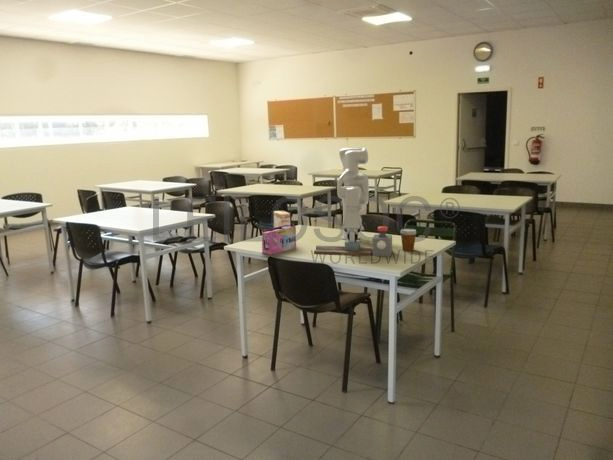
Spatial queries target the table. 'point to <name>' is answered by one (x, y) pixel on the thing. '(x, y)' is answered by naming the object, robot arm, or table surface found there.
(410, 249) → the disposable coffee cup
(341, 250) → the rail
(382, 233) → the gauge button
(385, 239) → the gauge cabinet
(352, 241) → the carriage
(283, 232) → the gum box
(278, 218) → the coffeecake box
